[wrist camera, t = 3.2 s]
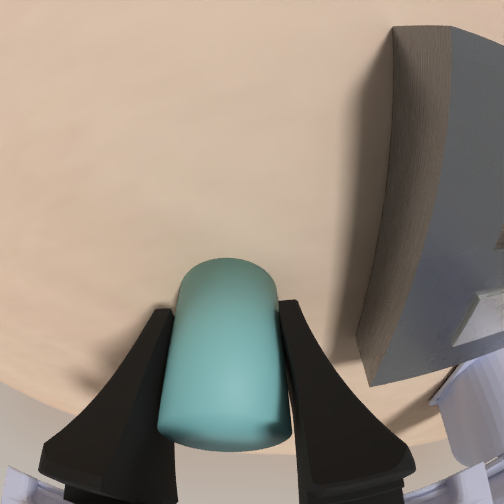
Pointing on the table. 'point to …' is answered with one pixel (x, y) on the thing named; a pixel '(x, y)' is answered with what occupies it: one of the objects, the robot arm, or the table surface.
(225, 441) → the barrel peg
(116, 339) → the table surface
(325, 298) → the table surface
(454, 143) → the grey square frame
